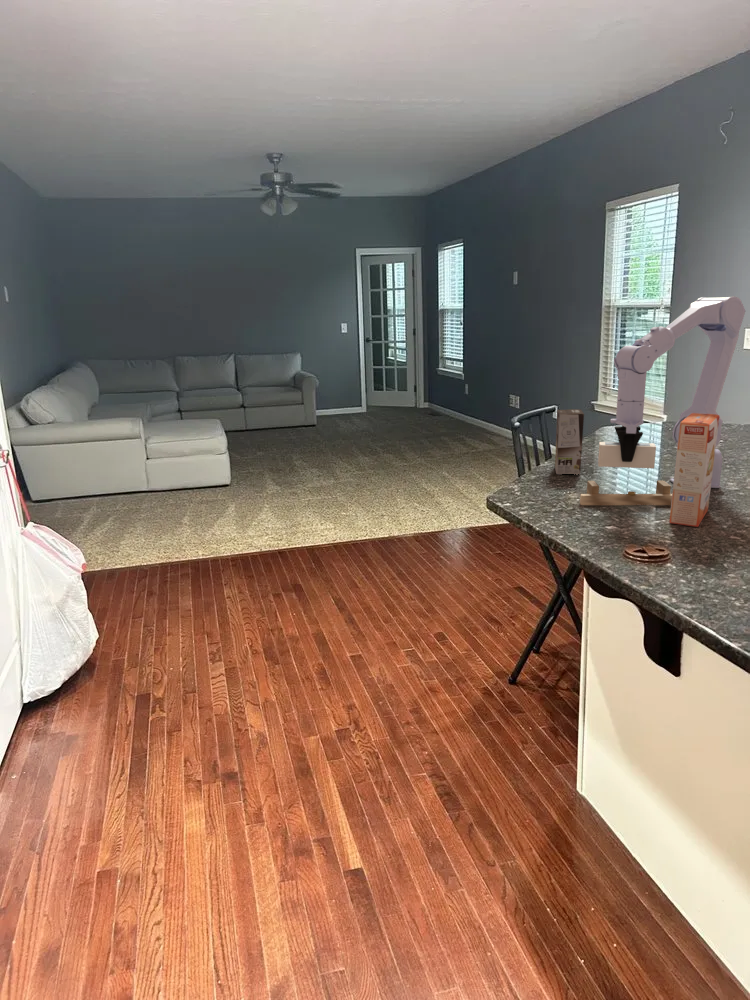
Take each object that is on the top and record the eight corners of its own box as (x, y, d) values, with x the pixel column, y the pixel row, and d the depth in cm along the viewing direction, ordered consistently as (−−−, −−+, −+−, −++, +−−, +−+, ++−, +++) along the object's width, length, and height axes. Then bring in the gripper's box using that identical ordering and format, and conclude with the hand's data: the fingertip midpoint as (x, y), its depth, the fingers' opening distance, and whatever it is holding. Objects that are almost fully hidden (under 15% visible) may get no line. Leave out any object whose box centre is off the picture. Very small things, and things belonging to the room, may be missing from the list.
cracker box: (700, 528, 139) (711, 423, 133) (668, 524, 142) (677, 421, 136) (710, 510, 150) (721, 413, 145) (680, 507, 153) (689, 411, 148)
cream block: (652, 464, 162) (654, 442, 161) (654, 468, 159) (656, 446, 157) (598, 462, 166) (599, 441, 164) (598, 466, 162) (600, 444, 160)
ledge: (673, 497, 161) (675, 480, 160) (683, 505, 155) (684, 487, 154) (575, 497, 163) (576, 480, 162) (581, 505, 156) (582, 487, 155)
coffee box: (581, 475, 183) (584, 413, 179) (555, 474, 185) (558, 413, 180) (578, 467, 192) (581, 408, 188) (554, 467, 193) (557, 408, 189)
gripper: (610, 396, 166) (606, 452, 169) (613, 404, 152) (609, 465, 156) (642, 396, 164) (637, 453, 168) (648, 404, 151) (643, 466, 154)
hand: (626, 459), depth 162 cm, fingers closed on cream block, 4 cm apart
